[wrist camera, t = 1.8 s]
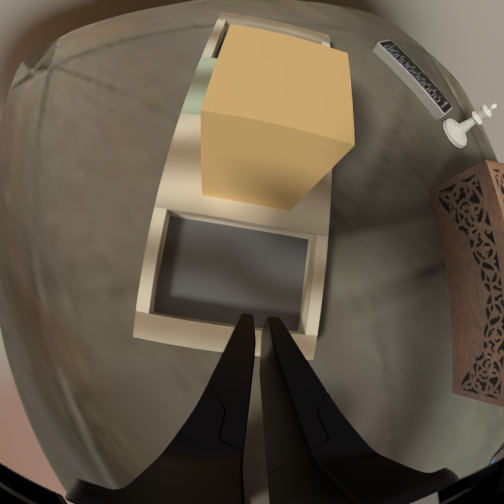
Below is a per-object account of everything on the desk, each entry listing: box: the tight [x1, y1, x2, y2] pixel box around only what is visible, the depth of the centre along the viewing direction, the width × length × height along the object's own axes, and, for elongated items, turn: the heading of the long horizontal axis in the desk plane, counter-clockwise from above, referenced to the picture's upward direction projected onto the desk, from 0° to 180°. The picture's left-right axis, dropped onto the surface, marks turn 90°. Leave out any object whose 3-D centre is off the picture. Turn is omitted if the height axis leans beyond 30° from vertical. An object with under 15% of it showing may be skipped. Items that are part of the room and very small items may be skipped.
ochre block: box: [201, 24, 355, 211], centre depth 17 cm, size 7×7×11 cm
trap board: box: [133, 12, 332, 360], centre depth 24 cm, size 37×14×2 cm, turn 172°
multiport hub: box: [373, 40, 453, 120], centre depth 31 cm, size 4×14×2 cm, turn 38°
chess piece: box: [443, 103, 497, 148], centre depth 27 cm, size 5×5×10 cm
